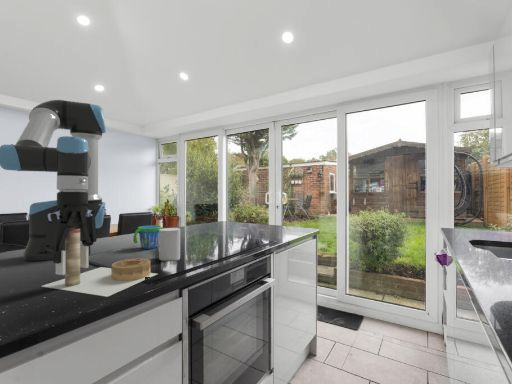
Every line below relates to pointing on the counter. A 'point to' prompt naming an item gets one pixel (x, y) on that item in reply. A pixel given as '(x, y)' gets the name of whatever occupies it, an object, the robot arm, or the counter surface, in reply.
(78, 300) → the counter surface
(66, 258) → the beige cylinder
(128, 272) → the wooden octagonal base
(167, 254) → the grey rounded block
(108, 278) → the mat
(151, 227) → the snack cup
